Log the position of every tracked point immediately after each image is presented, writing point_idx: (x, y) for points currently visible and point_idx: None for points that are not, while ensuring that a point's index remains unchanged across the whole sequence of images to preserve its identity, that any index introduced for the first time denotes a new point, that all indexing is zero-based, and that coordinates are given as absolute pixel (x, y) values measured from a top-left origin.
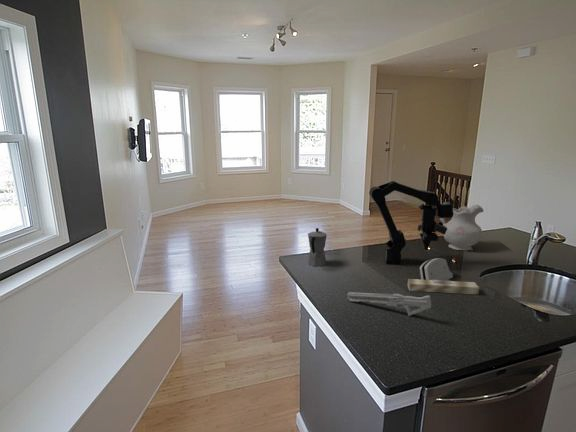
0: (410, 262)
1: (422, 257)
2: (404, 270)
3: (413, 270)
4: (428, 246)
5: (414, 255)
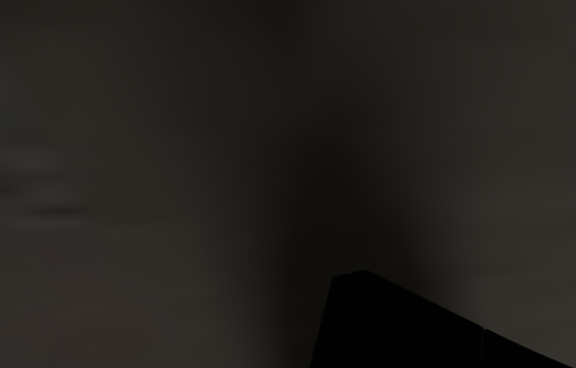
0: None
1: (155, 236)
2: (570, 349)
3: (561, 286)
4: (414, 295)
5: (125, 318)
